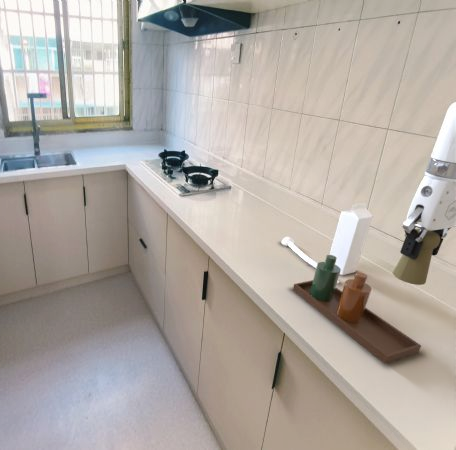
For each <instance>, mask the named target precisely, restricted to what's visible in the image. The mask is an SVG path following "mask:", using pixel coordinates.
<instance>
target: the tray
mask: <svg viewBox="0 0 456 450" xmlns="http://www.w3.org/2000/svg"><path fill="white" fill-rule="evenodd" d="M312 283H313V279H311V280H307V281H303V282H298V283H293V287H292V291H293V292H294V293H295V294H297V296H299V297H300V298H302V299H303V300H304V301H306V302H307V303H308V304H309V305H310V306H312V307H313V308H314V309H315V310H317V311H318V312H319V313H320V314H322V315H323V316H324V317H326V319H328V320H329V321H330V322H332V323H333V324H334V325H335V326H337V327H338V328H339V329H340V330H342V331H343V332H344V333H345V334H347V335H348V336H349V337H351V339H353V340H354V341H355V342H357V343H358V344H359V345H361V346H362V347H363V349H366V350H367V351H368V352H370V353H371V354H372V355H373V356H374V357H375V358H377V360H379V361H380V362H382V363H383V364H384V365H387V364H390V363H393V362H395V361H396V362H397V361H398V360H401V359H404V358H408V357H410V356H413V355H416V354H418V353H419V352H420V350H421V348H422V345H421V344H420V343H418V342H417V341H416V340H414V339H412V338H411V337H409V336H407V334H406V333H403V332H402V331H401V330H399V329H398V328H396V327H395V326H393V325H391V323H389V322H388V321H386V320H385V319H383V318H382V317H381V316H379V315H377V314H376V313H374V312H373V311H371V310H370V309H369V308H367V307H365V310H364V313H363V316H362V319H361V321H360V322H359V323H350V322H347V321H344V320H342V319H341V318H340V317H339V316H337V314H336V310H337V307H338V304H339V301H340V297H341V294H342V291H343V290H341V289H340V288H337V287H336V288H335V291H334V295H333V298H332V300H331V301H328V302H324V301H320V300H317V299H315V298H314V297H312V296H311V294H310V290H311V287H312Z"/></svg>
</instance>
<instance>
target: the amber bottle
mask: <svg viewBox="0 0 456 450" xmlns="http://www.w3.org/2000/svg"><path fill="white" fill-rule="evenodd" d="M367 279H368V275H367V274H366V273H364V272H361V271H358V272H357V271H356V272H355V275H354V278H353V279H352V278H350V279H346V280H345V282H344V285H343V288H342V290H341V291H342V294H341V297H340V301H339V304H338V307H337V310H336V314H337V316H339V317H340V318H341V319H342V320H344V321H347V322H350V323H359V322H360V321H361V319H362V316H363V313H364V310H365V308H367V304H368V301H369V299H370V296H371V294H372V287H371V285H370V284H368V283H366V282H367Z"/></svg>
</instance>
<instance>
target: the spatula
mask: <svg viewBox="0 0 456 450" xmlns="http://www.w3.org/2000/svg"><path fill="white" fill-rule="evenodd" d="M281 245H283V246H284V247H289V248H290V249H291V250H292V251H293V252H294V253H295V254H296V255H298V256H299V257H300V258H301V259H302V260H303V261H305V262H306V263H307V264H309V265H310V266H311V267H313V268H314V269H316V267H317V264H318V263H319V262H317V261H315V260H314V259H312V258H310V257H309V256H308V255H307V254H306V253H305V252H303V251H302V250H301V249H300V248H299V247H298V246H297V245H296V244H295V243H294V239H293V238H292V237H290V236H286V237H283V239H282V240H281ZM337 284H340V280H338V281H337ZM337 284H336V285H337Z"/></svg>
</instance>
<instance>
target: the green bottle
mask: <svg viewBox="0 0 456 450" xmlns="http://www.w3.org/2000/svg"><path fill="white" fill-rule="evenodd" d="M336 259H337V258H336V257H335V256H333V255H330V254H326V257H325V260H324V261H319V262H317V263H318V264H317V267H316V268H315V271H314V276H313V279H312V280H313V283H312V287H311V290H310V294H311V296H312V297H314V298H315V299H317V300H320V301H324V302H328V301H331V300H332V298H333V295H334V291H335V288H337V281H339V278H340V271H341V269H340V268H339V267H338V266H337V265H335V263H336Z"/></svg>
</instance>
